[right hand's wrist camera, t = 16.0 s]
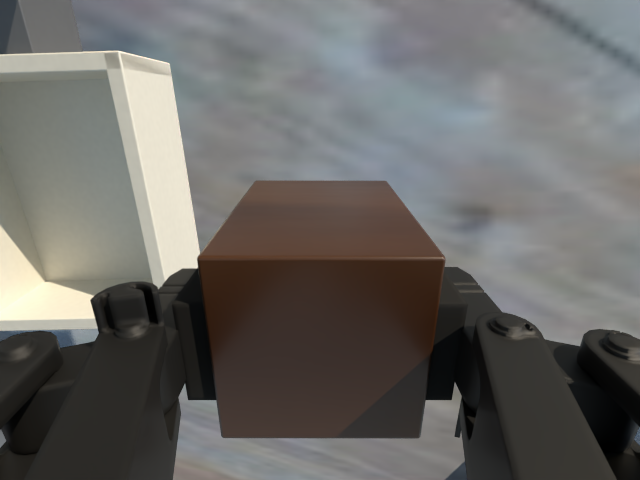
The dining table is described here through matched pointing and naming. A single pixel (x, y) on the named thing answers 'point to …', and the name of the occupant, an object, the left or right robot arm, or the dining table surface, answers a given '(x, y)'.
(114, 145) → the bin
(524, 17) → the dining table surface
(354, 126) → the dining table surface
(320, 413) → the walnut block
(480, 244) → the dining table surface
